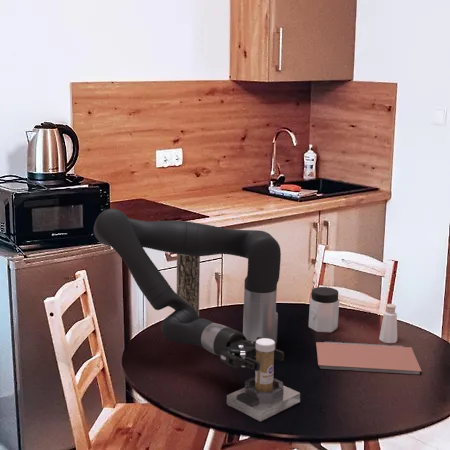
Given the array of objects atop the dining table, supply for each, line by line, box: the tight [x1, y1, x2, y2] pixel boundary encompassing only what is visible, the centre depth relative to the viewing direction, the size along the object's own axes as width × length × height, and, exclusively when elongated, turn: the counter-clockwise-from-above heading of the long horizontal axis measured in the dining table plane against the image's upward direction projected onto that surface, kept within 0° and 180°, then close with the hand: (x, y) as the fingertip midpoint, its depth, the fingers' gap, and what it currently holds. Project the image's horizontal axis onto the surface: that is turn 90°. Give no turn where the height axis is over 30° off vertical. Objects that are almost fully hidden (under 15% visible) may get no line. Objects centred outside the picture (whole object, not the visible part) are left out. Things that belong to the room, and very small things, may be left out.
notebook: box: [315, 341, 422, 375], centre depth 196 cm, size 27×17×2 cm, turn 85°
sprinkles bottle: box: [254, 338, 275, 392], centre depth 167 cm, size 5×5×13 cm
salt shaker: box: [378, 303, 398, 344], centre depth 208 cm, size 5×5×11 cm
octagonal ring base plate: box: [226, 376, 301, 422], centre depth 169 cm, size 14×11×5 cm
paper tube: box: [176, 254, 201, 316], centre depth 210 cm, size 7×7×25 cm
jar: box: [308, 286, 340, 333], centre depth 216 cm, size 9×8×12 cm
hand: (271, 361), depth 165 cm, fingers open, 8 cm apart
